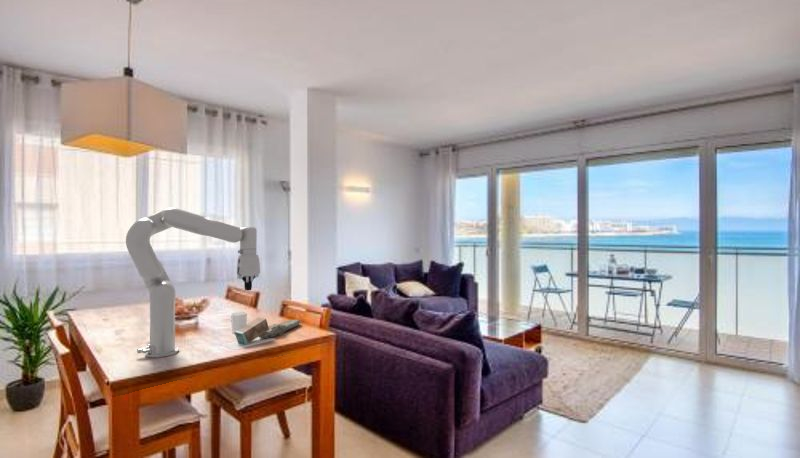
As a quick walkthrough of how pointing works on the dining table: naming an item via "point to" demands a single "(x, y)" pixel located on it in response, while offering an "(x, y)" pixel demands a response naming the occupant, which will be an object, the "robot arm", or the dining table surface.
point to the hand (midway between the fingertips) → (248, 289)
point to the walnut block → (251, 330)
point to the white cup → (238, 320)
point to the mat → (256, 341)
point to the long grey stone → (280, 328)
